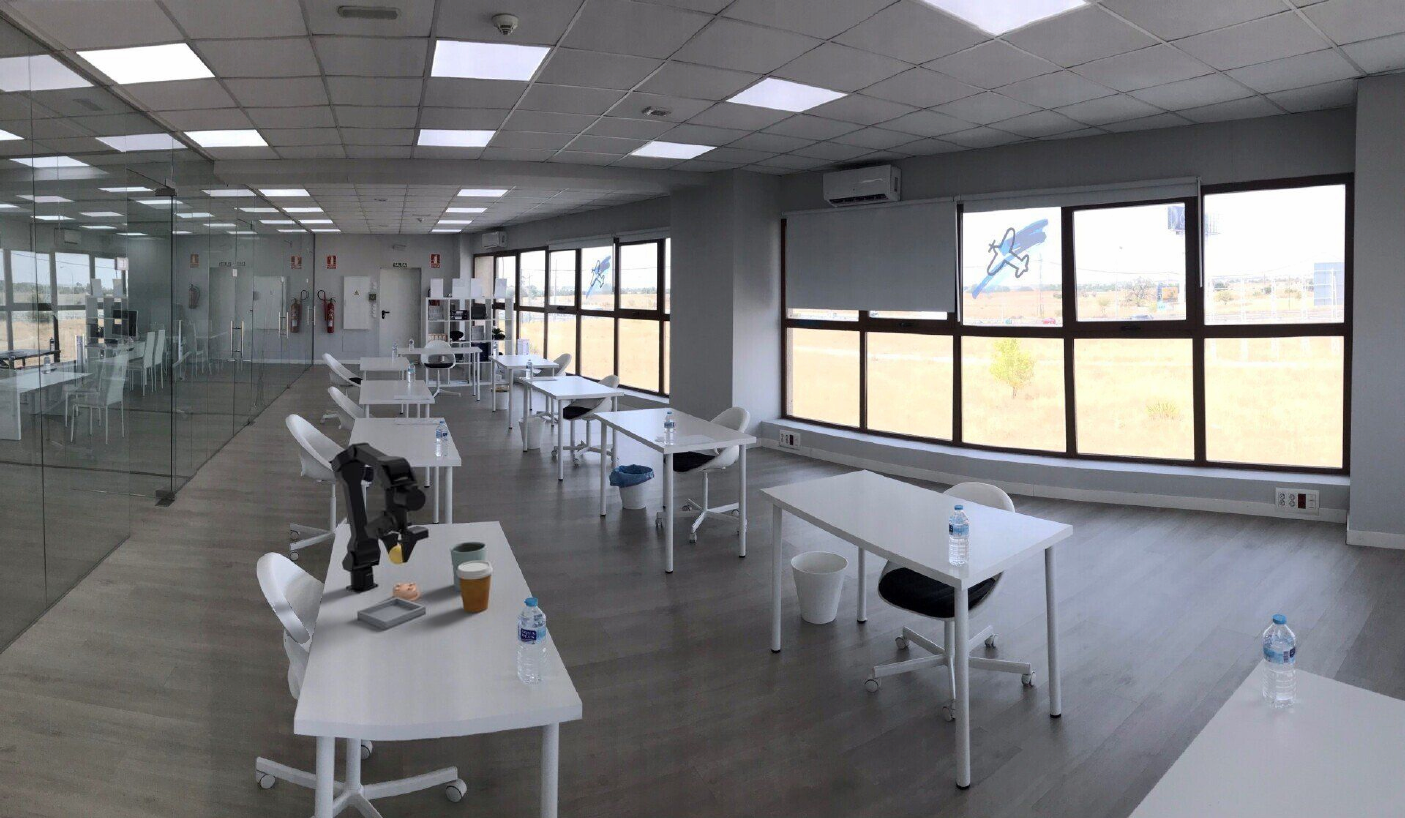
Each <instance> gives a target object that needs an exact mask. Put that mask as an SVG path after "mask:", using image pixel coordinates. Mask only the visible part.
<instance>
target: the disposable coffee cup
mask: <svg viewBox="0 0 1405 818" xmlns="http://www.w3.org/2000/svg"><path fill="white" fill-rule="evenodd" d="M493 570H494V568H493V567H492V564H491V562H489V561H486V560H485V561H470V562H465V563H463V564H461V565H459V566H458V570H457V571H456V573H457V575H458V577H459V583H460V589H461V591H460V594H461V599H462V607H463V611H465V612H467V613H474V614H475V613H480V612H481V613H482V612H484V611H485V610H487V609H489V598H490V589H491V579H492V573H493Z"/></svg>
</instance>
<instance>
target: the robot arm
mask: <svg viewBox="0 0 1405 818" xmlns="http://www.w3.org/2000/svg"><path fill="white" fill-rule="evenodd" d="M366 466H368V467H370V468H372V469H373V470H374V471H376V472H375V473H376V477H377V478H378V479H379V480H380V481H381V483H380V484H379V487H380V488H383V504H384V505H383V506H384V508H382V509H380V511H379V512H380V513H379V516H378V517H377V518H374V519H373V520H371V521H369V519H368V515H367V510H366V505H365V504H366V503H365V498H364V492H363V487H362V482H363V479H364V477H365V476H366ZM330 467H331V470H332V471H333V475H334V478H335V480H337V483H339V484H340V485H341V486H342V489H343V494H344V495H343V496H344V501H345V506H346V511H347V518H348V523H349V529H350V531H349V532H350V537H349V540H348V542H347V544H346V552H347V553H346V554H345V556H344V558H343V559H342V561H341V564H342V569H343V570H344V571H346V572H347V573H350V576H349V578H350V585H347V586H345V589H347V590H350V591H352V592H355V593H363V592H365V591H369V590H371V589H374V588H377V587H379V584H378V583H376V582H375V580H374V567H376V566H380V559H381V555H382V550H381V546H380V545H379V543H380V542H379V540H380V541H381V542H382V543H383V545H384V548H385V549H386V552H387V555H388V556H389V552H390V550H391V549H392V548H393V547H395V546H398V545H399V546H401V552H402V559H403V563H402V564H406V563H408V562H409V559H410V558H411V555H412V553H413V551H414V548H415V546H416V544H417V543H418V542H419V541H421V540H424V539H428V538H429V537H430V532H429V529H428V528H427V527H424V526H419V525H416V526H415V525H414V526H413V523H412V521H409V512H417V511H420V510H421V509H422V508H423V507H424V506H425V504H426V501H427V496H426V494H425V493H424V491H423V490H421V489H419V485H418V484H417V483H418V481H417V476H416V473H415V472H414V470H413V468H412V467H411V463H410V462H409V461H408V460H407V459H406V458H405V457H403V456H399V455H398V456H396V455H391V456H390V455H387V454H386V453H385V452H383V451H380V450H378V449H376V448H375V447H373V446H372V445H370V443H368V442H358V443H351V444H349V445H348V446H347V447H346V448H345V449H343V450H341V452H339V453H337V454H336V455H335V456H334V458H333V459H332V460H331V463H330ZM368 521H369V522H368ZM412 526H413V527H412ZM399 537H400V539H399Z"/></svg>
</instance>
